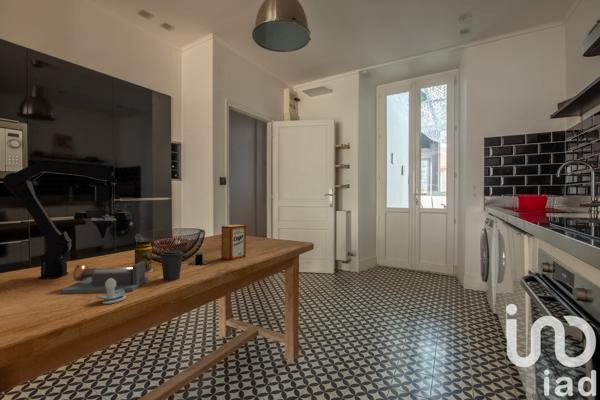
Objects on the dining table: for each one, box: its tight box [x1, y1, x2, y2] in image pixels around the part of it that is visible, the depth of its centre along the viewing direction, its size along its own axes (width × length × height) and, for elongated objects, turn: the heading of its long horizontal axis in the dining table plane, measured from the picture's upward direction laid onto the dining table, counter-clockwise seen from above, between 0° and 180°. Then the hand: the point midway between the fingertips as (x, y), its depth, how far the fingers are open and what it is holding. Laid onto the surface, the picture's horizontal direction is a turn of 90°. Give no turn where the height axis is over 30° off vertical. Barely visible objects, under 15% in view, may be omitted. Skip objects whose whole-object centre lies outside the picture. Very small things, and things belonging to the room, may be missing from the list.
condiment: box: [134, 239, 154, 274], centre depth 115 cm, size 7×8×12 cm
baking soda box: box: [220, 224, 247, 261], centre depth 142 cm, size 10×6×16 cm
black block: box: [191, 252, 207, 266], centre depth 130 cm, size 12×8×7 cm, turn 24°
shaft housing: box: [61, 261, 149, 295], centre depth 96 cm, size 20×13×7 cm, turn 98°
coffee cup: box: [159, 249, 185, 282], centre depth 105 cm, size 8×8×10 cm
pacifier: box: [95, 278, 127, 305], centre depth 83 cm, size 7×6×6 cm
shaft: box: [72, 264, 132, 282], centre depth 96 cm, size 18×5×5 cm, turn 98°
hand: (103, 238), depth 114 cm, fingers closed
